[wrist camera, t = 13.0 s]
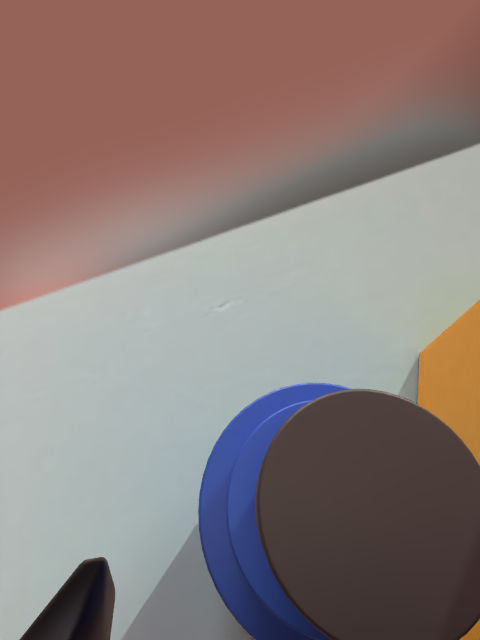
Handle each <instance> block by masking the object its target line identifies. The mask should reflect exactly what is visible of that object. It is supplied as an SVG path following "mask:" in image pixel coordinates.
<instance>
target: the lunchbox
mask: <svg viewBox="0 0 480 640" xmlns="http://www.w3.org/2000/svg"><path fill="white" fill-rule="evenodd" d="M417 404H418V405H419V406H421V407H423V408H425V409H426V410H428V411H429V412H431V413H432V414H434V415H435V416H437V417H438V418H439V419H440V420H442V421H443V422H444V423H445V424H446V425H447V426H449V427H450V428H451V429H452V430H453V431H454V432H455V433H456V434H457V436H458V437H459V438H460V439H461V440H462V441H463V442H464V444H465V445H466V446H467V447H468V449H469V450H470V451H471V453H472V454H473V456H474V457H475V459H476V460H477V462H478V464H479V465H480V300H479V301H478V302H476V303H475V304H474V305H473V306H472V307H471V308H470V309H469V310H467V311H466V312H465V313H464V314H463V315H462V316H461V317H460V318H458V319H457V320H456V321H455V322H454V323H453V324H452V325H451V326H449V327H448V328H447V329H446V330H445V331H444V332H443V333H442V334H441V335H439V336H438V337H437V338H436V339H435V340H434V341H433V342H432V343H430V344H429V345H428V346H427V347H426V348H425V349H424V350H423V351H422V352H421V353H420V360H419V380H418V401H417ZM459 640H480V619H479V621H478V622H477V623H476V624H475V625H474V626H473V627H472V629H471V630H470V631H469V632H468V633H467V634H466V635H464V636H463V637H462V638H461V639H459Z"/></svg>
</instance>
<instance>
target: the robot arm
mask: <svg viewBox="0 0 480 640" xmlns="http://www.w3.org/2000/svg"><path fill="white" fill-rule="evenodd" d="M114 603H115V587H114V583H113V580H112V576H111V573H110V569H109V566H108V562H107V560H106V559H105V558H104V557H99V558H93V559H87V560H84V561H83V562H82V563H81V564H80V565H79V566H78V567H77V569H76V570H75V571H74V572H73V574H72V575H71V576H70V577H69V579H68V580H67V581H66V582H65V584H64V585H63V586H62V587H61V589H60V590H59V591H58V592H57V594H56V595H55V596H54V597H53V599H52V600H51V601H50V602H49V604H48V605H47V606H46V607H45V609H44V610H43V611H42V612H41V614H40V615H39V616H38V617H37V619H36V620H35V621H34V622H33V624H32V625H31V626H30V627H29V629H28V630H27V631H26V632H25V634H24V635H23V636H22V637H21V639H20V640H110V635H111V627H112V619H113V611H114Z"/></svg>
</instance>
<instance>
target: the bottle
mask: <svg viewBox="0 0 480 640" xmlns="http://www.w3.org/2000/svg"><path fill="white" fill-rule="evenodd" d="M198 514H199V532H200V538H201V544H202V550H203V553H204V557H205V560H206V564H207V567H208V570H209V573H210V575H211V577H212V580H213V582H214V585H215V587H216V589H217V591H218V593H219V594H220V596H221V598H222V600H223V601H224V603H225V605H226V606H227V608H228V609H229V610H230V612H231V613H232V615H233V616H234V617H235V619H236V620H237V621H238V623H239V624H240V625H241V626H242V627H243V628H244V629H245V630H246V631H247V632H248V633H249V634H250V635H251V636H252V637H253V638H254V639H255V640H459V639H461V638H462V637H463V636H464V635H466V634H467V633H468V632H469V631H470V630H471V629H472V627H473V626H474V625H475V624H476V623H477V622H478V621H479V619H480V465H479V464H478V462H477V460H476V459H475V457H474V456H473V454H472V453H471V451H470V450H469V449H468V447H467V446H466V445H465V444H464V442H463V441H462V440H461V439H460V438H459V437H458V436H457V434H456V433H455V432H454V431H453V430H452V429H451V428H450V427H449V426H447V425H446V424H445V423H444V422H443V421H442V420H440V419H439V418H438V417H437V416H435V415H434V414H432V413H431V412H429V411H428V410H426V409H425V408H423V407H421V406H419V405H418V404H416V403H414V402H412V401H410V400H407V399H405V398H402V397H400V396H397V395H394V394H390V393H387V392H383V391H377V390H370V389H350V388H347V387H343V386H339V385H332V384H326V383H306V384H296V385H292V386H288V387H284V388H280V389H278V390H275V391H273V392H270V393H268V394H266V395H264V396H262V397H260V398H259V399H257V400H255V401H254V402H252V403H251V404H250V405H248V406H247V407H245V408H244V409H243V410H242V411H241V412H240V413H239V414H238V415H237V416H236V417H235V418H234V419H233V420H232V421H231V422H230V423H229V425H228V426H227V427H226V428H225V430H224V431H223V432H222V434H221V436H220V437H219V439H218V440H217V442H216V444H215V446H214V448H213V450H212V452H211V454H210V457H209V459H208V462H207V465H206V468H205V471H204V474H203V478H202V484H201V489H200V496H199V510H198Z"/></svg>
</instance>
